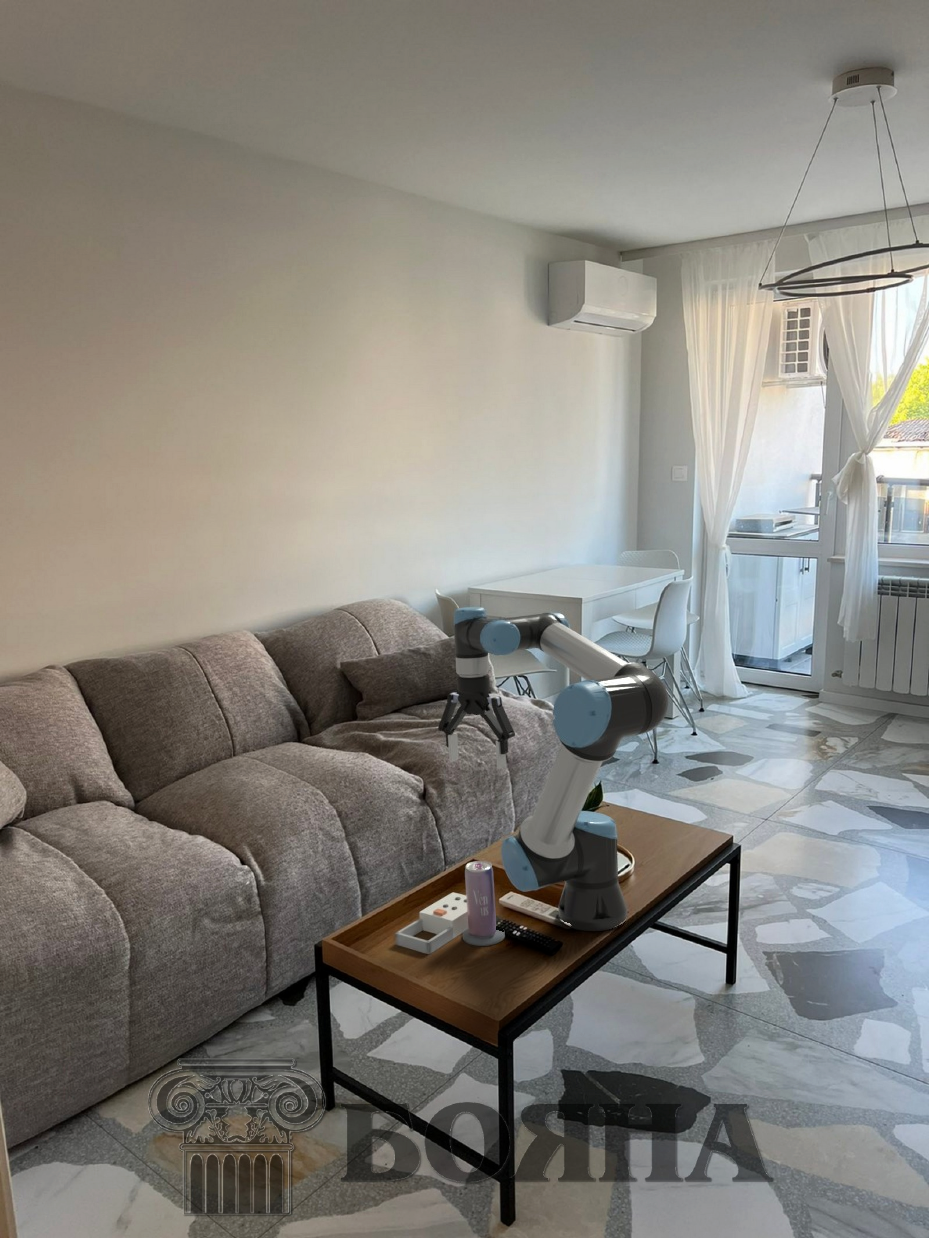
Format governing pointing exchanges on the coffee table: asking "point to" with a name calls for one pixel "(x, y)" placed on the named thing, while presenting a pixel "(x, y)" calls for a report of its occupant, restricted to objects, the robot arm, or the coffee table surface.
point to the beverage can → (480, 899)
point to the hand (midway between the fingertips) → (477, 764)
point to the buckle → (436, 924)
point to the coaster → (483, 942)
